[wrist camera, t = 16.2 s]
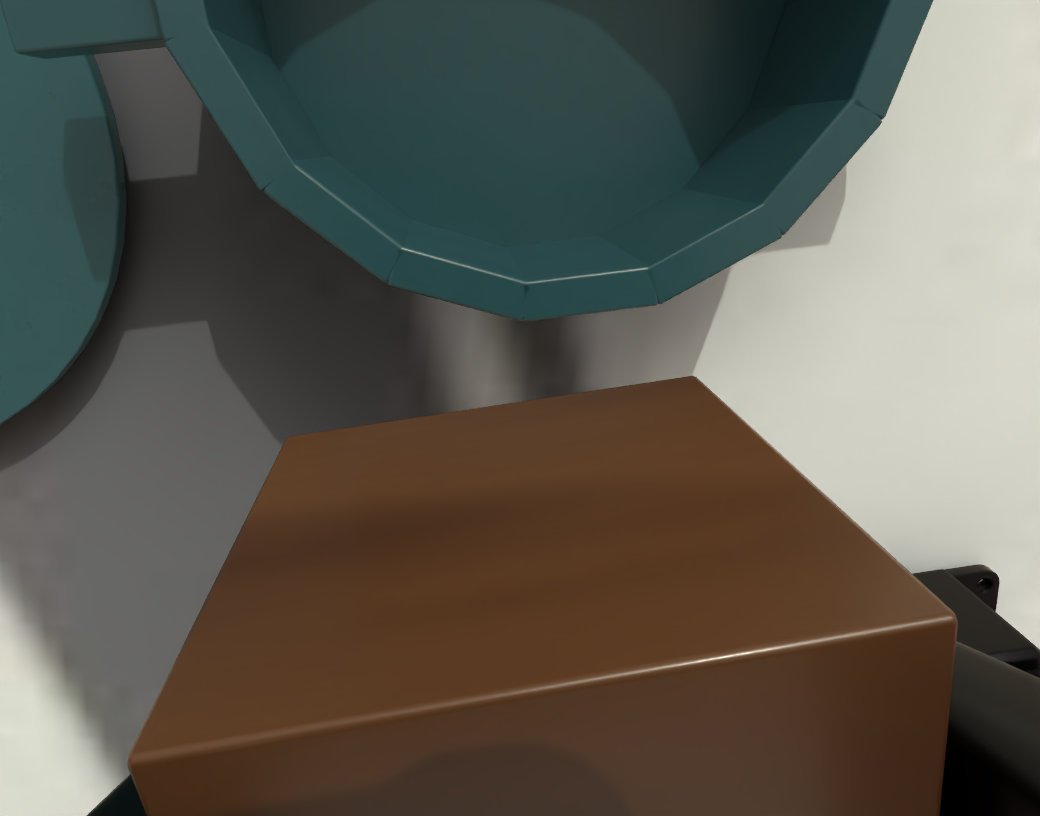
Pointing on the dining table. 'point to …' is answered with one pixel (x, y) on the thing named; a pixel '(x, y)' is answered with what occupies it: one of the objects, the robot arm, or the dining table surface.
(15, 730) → the dining table surface
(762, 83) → the pan
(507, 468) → the block
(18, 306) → the lid
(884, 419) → the dining table surface
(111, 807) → the robot arm
